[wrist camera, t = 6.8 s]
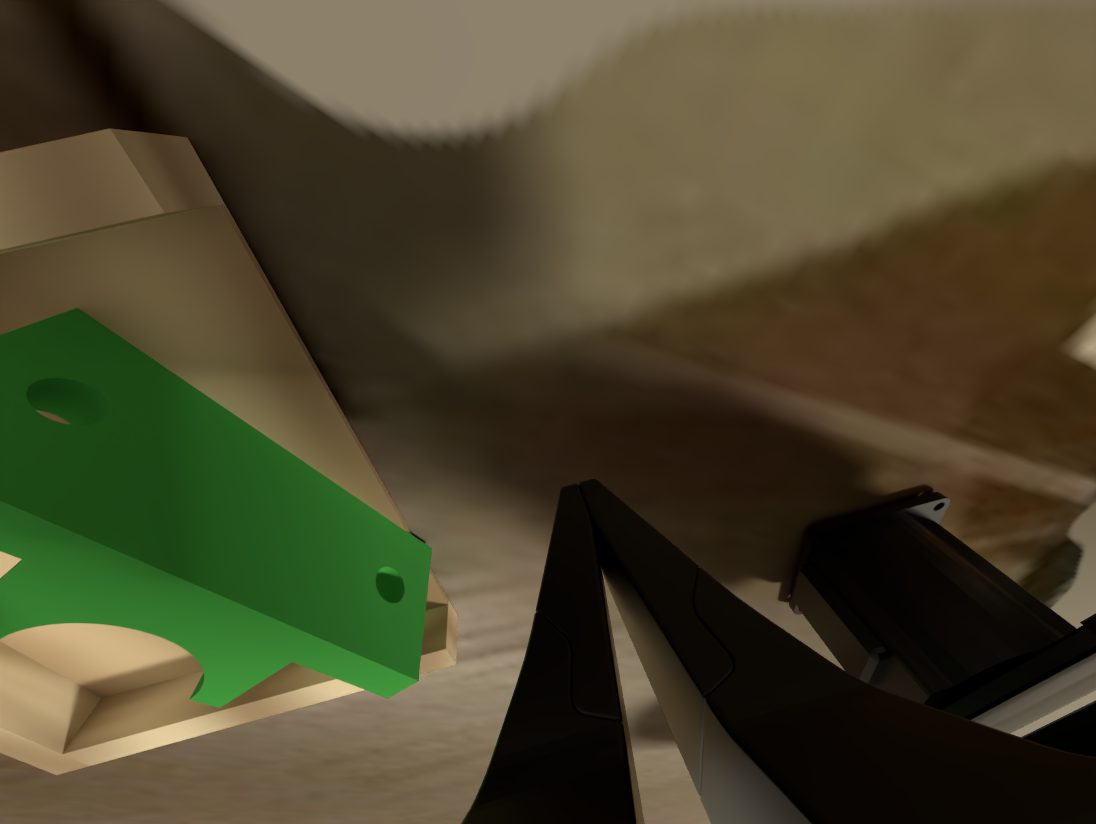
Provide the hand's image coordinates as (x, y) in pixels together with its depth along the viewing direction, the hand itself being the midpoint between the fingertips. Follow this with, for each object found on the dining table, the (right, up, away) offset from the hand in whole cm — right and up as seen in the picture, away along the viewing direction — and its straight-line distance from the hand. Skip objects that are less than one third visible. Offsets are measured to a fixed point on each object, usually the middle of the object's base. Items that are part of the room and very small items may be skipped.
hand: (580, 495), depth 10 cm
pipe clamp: (-10, 0, +3) cm, 10 cm away
